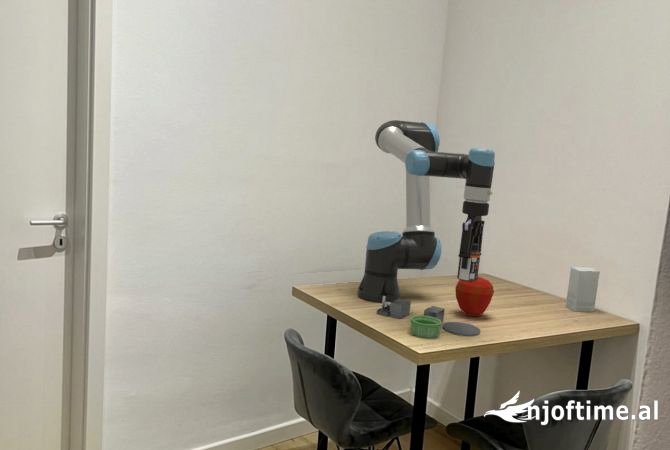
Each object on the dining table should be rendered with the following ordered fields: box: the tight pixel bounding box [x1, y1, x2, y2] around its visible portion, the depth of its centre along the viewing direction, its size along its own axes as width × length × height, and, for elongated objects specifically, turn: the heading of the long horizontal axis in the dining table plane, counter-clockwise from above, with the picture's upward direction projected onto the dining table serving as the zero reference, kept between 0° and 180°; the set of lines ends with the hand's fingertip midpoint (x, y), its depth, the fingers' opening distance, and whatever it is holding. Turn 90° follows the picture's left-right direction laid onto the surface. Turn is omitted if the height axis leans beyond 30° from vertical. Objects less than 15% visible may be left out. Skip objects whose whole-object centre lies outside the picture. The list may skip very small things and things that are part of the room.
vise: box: [376, 296, 446, 324], centre depth 188 cm, size 20×9×5 cm, turn 59°
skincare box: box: [565, 266, 601, 313], centre depth 217 cm, size 8×7×16 cm
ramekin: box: [410, 314, 442, 339], centre depth 173 cm, size 9×9×4 cm
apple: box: [455, 276, 495, 317], centre depth 197 cm, size 12×12×14 cm
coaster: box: [442, 321, 481, 337], centre depth 180 cm, size 11×11×1 cm
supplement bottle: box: [456, 243, 481, 282], centre depth 177 cm, size 6×6×11 cm
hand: (467, 277), depth 178 cm, fingers closed on supplement bottle, 6 cm apart
